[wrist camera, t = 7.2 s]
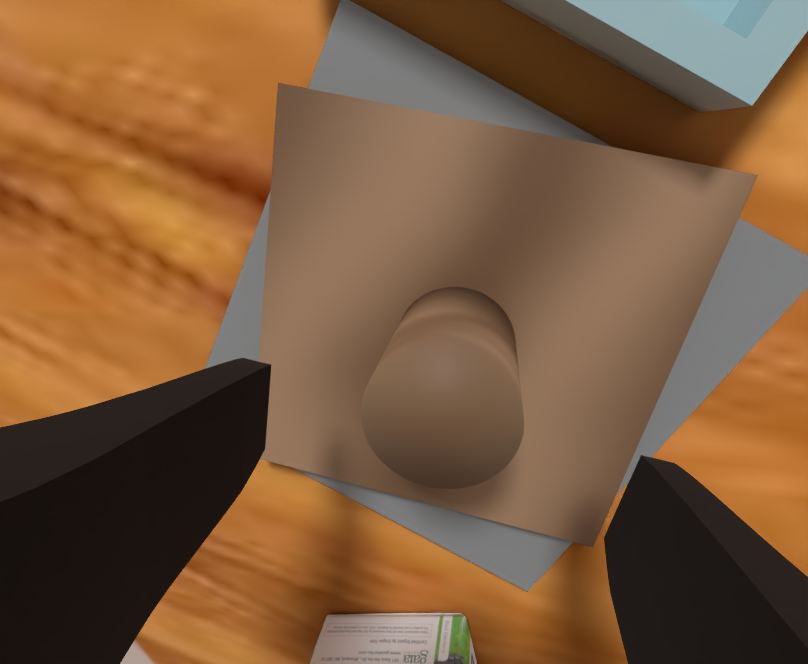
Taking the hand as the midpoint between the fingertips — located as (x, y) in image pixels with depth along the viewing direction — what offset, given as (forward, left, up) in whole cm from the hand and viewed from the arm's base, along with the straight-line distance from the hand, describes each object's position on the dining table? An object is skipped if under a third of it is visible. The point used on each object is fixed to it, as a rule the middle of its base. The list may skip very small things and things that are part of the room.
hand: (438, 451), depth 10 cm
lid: (0, 0, -5) cm, 5 cm away
